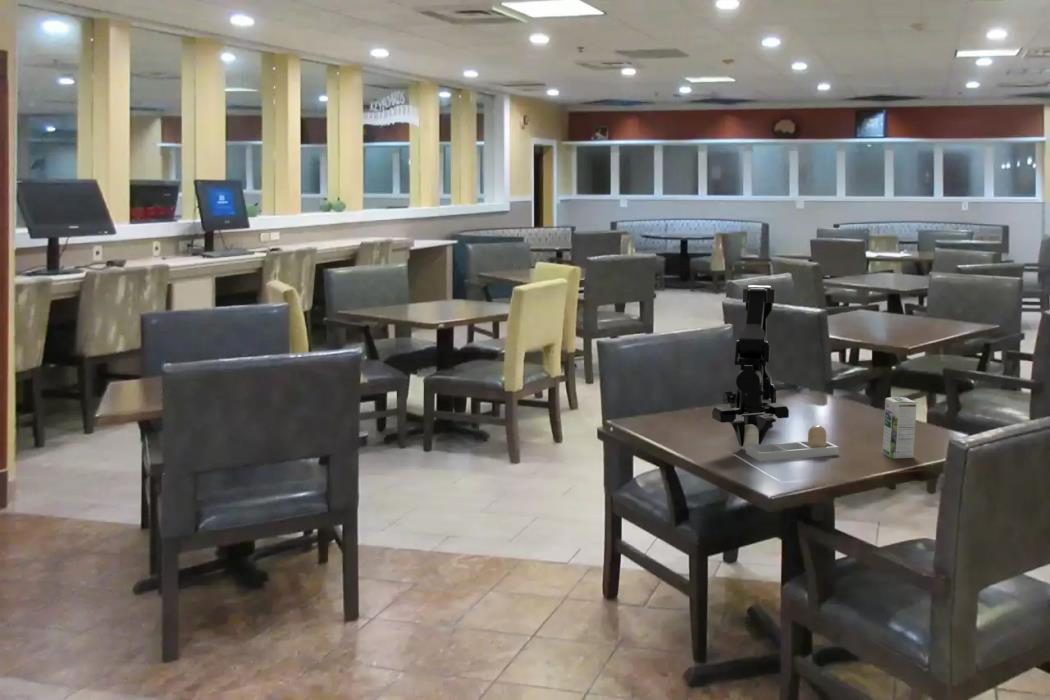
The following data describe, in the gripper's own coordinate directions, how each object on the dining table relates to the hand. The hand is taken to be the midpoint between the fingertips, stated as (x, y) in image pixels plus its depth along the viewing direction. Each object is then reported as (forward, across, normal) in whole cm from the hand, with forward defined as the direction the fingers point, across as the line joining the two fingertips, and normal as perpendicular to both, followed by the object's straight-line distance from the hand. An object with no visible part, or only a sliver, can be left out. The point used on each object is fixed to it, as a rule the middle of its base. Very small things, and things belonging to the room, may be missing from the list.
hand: (749, 445), depth 264 cm
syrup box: (+1, -32, +16) cm, 36 cm away
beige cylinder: (+1, -14, +8) cm, 16 cm away
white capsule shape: (+1, 0, 0) cm, 1 cm away
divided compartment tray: (+1, -8, +8) cm, 11 cm away
